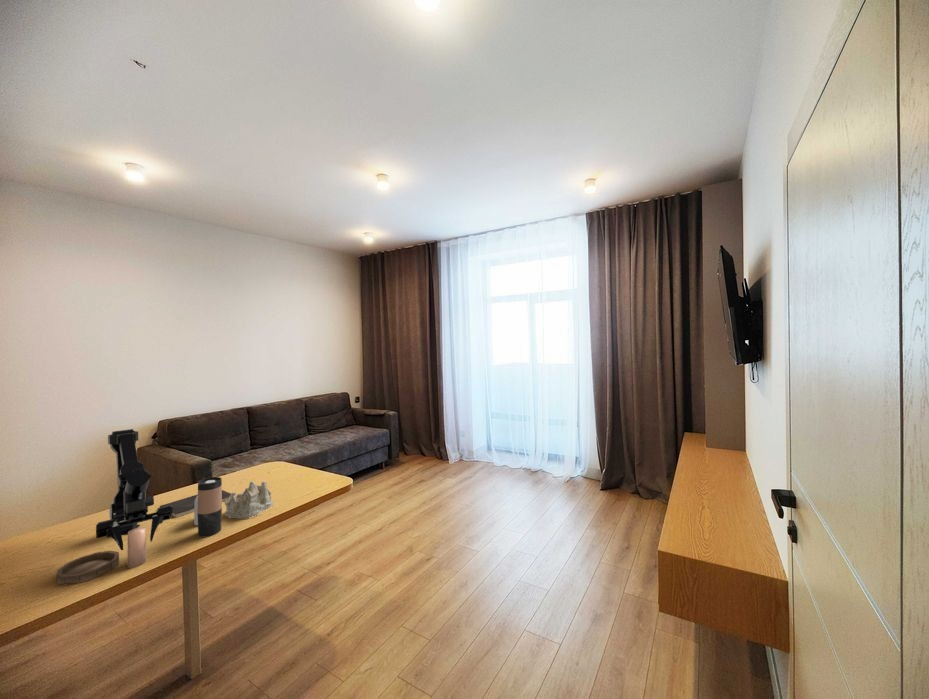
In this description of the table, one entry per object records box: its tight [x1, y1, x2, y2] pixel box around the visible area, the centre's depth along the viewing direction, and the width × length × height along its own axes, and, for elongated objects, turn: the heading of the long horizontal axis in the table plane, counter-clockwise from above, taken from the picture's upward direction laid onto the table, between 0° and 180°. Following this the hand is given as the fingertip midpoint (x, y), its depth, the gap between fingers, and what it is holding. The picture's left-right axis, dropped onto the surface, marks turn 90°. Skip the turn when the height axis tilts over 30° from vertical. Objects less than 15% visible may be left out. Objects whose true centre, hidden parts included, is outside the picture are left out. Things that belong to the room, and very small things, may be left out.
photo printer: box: [193, 496, 198, 526], centre depth 146 cm, size 10×4×12 cm, turn 12°
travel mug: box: [197, 476, 223, 538], centre depth 136 cm, size 8×8×20 cm
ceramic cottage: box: [224, 480, 274, 520], centre depth 154 cm, size 16×16×15 cm
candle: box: [127, 526, 147, 569], centre depth 116 cm, size 4×4×11 cm
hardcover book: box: [158, 489, 232, 518], centre depth 161 cm, size 16×23×2 cm
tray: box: [55, 550, 120, 585], centre depth 112 cm, size 14×14×2 cm
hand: (137, 545), depth 115 cm, fingers open, 7 cm apart
